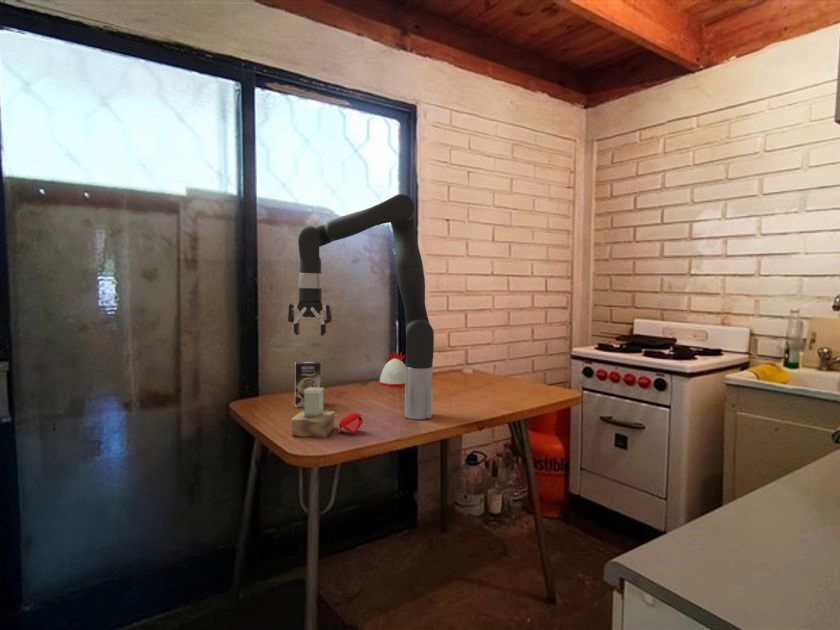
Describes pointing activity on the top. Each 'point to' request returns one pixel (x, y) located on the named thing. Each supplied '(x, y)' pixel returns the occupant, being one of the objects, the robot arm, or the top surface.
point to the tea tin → (313, 402)
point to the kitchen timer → (393, 372)
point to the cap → (351, 423)
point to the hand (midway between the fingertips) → (309, 335)
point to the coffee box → (305, 379)
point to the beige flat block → (313, 424)
